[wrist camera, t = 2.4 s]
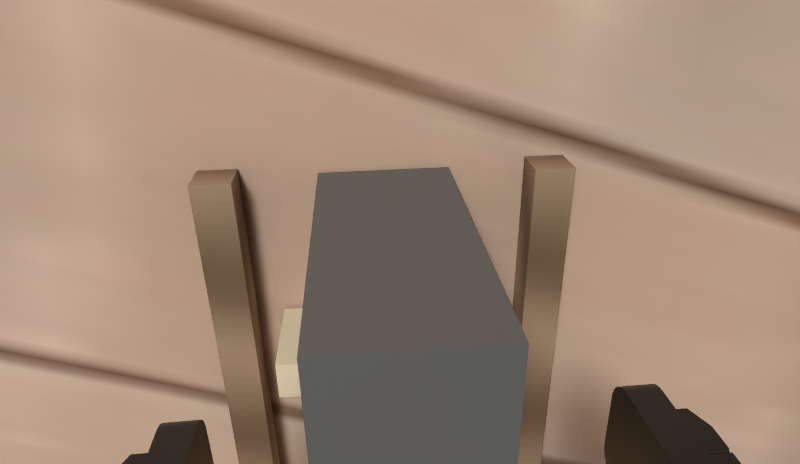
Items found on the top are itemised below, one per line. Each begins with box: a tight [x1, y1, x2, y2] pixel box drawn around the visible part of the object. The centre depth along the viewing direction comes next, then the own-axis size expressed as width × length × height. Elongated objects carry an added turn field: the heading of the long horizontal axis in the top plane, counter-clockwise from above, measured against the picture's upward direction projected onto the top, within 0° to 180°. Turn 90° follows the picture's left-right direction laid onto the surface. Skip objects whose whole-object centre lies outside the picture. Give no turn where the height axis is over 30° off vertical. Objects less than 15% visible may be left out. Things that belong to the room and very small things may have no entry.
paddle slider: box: [275, 167, 529, 464], centre depth 16 cm, size 6×7×9 cm
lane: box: [188, 155, 576, 464], centre depth 22 cm, size 17×11×1 cm, turn 1°
